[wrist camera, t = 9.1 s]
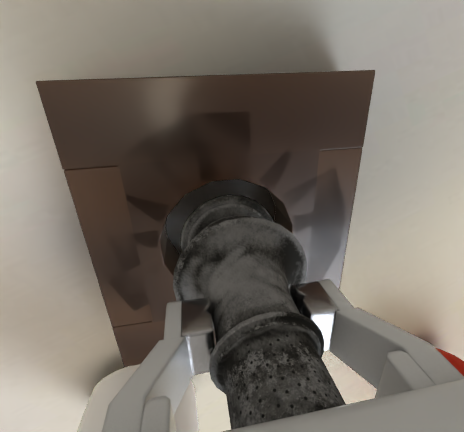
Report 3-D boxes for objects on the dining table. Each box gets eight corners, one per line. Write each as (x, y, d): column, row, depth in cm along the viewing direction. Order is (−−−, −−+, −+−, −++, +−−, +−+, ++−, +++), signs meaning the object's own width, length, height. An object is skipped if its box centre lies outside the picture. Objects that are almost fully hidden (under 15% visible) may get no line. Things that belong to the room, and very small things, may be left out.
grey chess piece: (156, 262, 14) (77, 758, 4) (208, 169, 13) (352, 557, 2) (245, 295, 16) (366, 677, 6) (300, 219, 15) (617, 545, 4)
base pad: (66, 84, 13) (34, 80, 10) (340, 74, 14) (375, 70, 12) (132, 329, 19) (124, 367, 17) (313, 301, 21) (332, 330, 18)
